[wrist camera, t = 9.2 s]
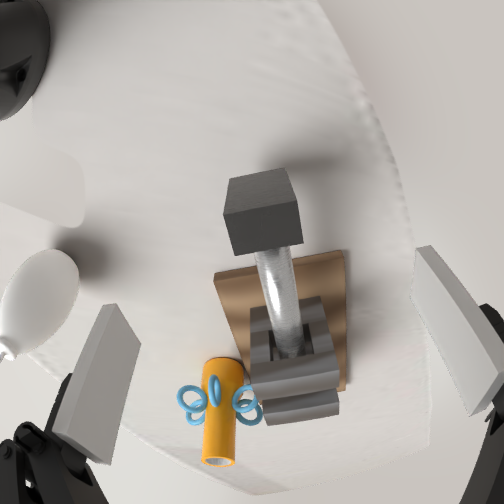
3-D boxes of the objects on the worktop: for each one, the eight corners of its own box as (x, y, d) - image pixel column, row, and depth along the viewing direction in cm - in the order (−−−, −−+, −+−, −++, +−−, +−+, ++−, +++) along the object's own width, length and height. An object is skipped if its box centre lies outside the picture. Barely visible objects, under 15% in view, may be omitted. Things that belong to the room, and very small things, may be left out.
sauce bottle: (101, 260, 34) (32, 384, 18) (79, 296, 37) (22, 407, 21) (51, 222, 31) (-41, 327, 15) (35, 262, 34) (-38, 362, 18)
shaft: (229, 178, 25) (223, 214, 19) (284, 167, 24) (297, 200, 18) (275, 358, 36) (279, 407, 30) (312, 352, 36) (321, 400, 30)
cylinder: (277, 359, 42) (284, 455, 30) (247, 394, 47) (247, 477, 35) (194, 335, 40) (178, 437, 27) (175, 375, 45) (160, 461, 32)
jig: (214, 273, 34) (202, 358, 24) (340, 250, 33) (374, 328, 23) (259, 397, 48) (261, 461, 38) (343, 383, 46) (357, 446, 36)
